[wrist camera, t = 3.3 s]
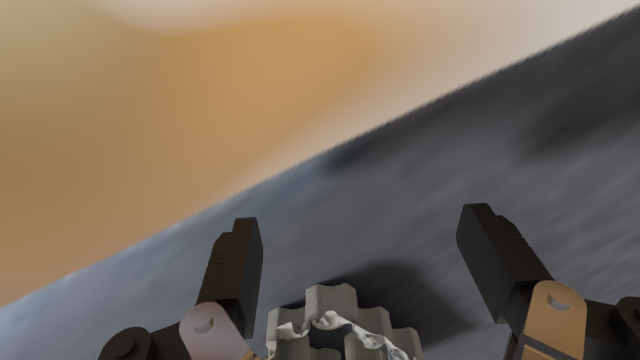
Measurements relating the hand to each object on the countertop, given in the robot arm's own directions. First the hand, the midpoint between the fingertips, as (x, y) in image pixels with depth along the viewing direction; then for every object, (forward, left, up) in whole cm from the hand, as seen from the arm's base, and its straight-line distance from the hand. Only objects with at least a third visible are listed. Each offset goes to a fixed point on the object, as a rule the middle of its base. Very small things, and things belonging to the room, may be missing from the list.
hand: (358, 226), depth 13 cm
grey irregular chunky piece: (0, +12, -3) cm, 13 cm away
